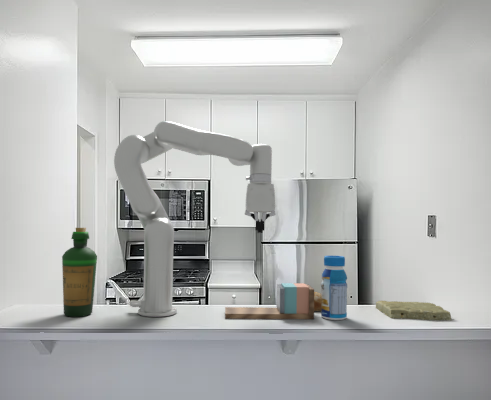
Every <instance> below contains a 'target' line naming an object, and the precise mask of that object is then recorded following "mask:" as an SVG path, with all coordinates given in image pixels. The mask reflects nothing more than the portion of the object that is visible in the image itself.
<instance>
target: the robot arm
mask: <svg viewBox="0 0 491 400" xmlns="http://www.w3.org/2000/svg"><path fill="white" fill-rule="evenodd" d="M172 149H174V150H177V151H182V152H186V153H188V154H192V155H196V156H215V157H216V156H217V157H221V158H225V159H228V161H229V162H230V164H231V165H233V166H237V167H242V166H249V176H245V181H248V182H249V183H247V186H246V194H245V195H246V196H245V211H244V215H245V216H248V217H251V218H252V219H253V220H254V221H255V231H256V233H257V234H260V233H261V234H262V233H263V232H264V231H265V222H266V221H267V219H268V218H270V217H275V216H276V214H277V213H276V192H275V186H274V185H275V184H274V183H272V165H273V164H272V163H273V162H272V160H273V159H272V158H273V157H272V153H273V149H272V147H271V145H270V144H264V143H263V144H262V143H257V144H253V145H251V144H250V143H249V142H248V141H247V140H243V139H241V138H238V137H236V136H235V137H234V136H231V135H227V134H224V133H217V132H211V131H206V130H201V129H197V128H193V127H190V126H187V125H183V124H180V123H176V122H173V121H167V120H163V121H160V122H158V123H157V124H156V125H155V127H154V130H153V131H152V132H150V133H149V134H146V135H144V136H141V135H137V134H131V135H128V136H126V137H124V138H123V139H122V140H121V141H120V143H119V144H118V146H117V147H116V149H115V153H114V158H113V164H114V165H113V166H114V170H115V173H116V176H117V178H118V181H119V183H120V185H121V187H122V189H123V192H124V194H125V195H126V198H127V200H128V202H129V204H130V207H131V209H132V212H133V213H134V214H135V215H136V216H137V218H138V219H139V220H138V221H139V222H140V224H141V225H142V228H143V230H144V233H143V236H144V237H143V244H144V245H143V246H144V248H143V251H144V253H143V255H144V257H143V294H142V295H143V297H142V299H139V300H130V301H129V306H130V307H131V308H138V310H137V314H138V315H140V316H142V317H150V318H153V317H154V318H155V317H156V318H161V317H168V316H172V315H173V316H174V315H175V314H177V312H178V311H177V308H176V307H174V306H173V287H174V286H173V283H174V280H173V279H174V274H173V273H174V241H175V228H174V225H173V224H172V223H173V222H171V219H170V217H169V215H168V214H167V211H166V210H165V207H164V206H163V204H162V201H161V199H160V198H159V196H158V195H157V193H156V192H155V191H154V189H153V188H152V185H151V184H150V182H149V180H148V177H147V175H146V174H145V171H144V169H143V165H142V164H145V163H147V162H149V161H150V160H153V159H155V158H156V157H159V156H161V155H163V154H164V153H166V152H169V151H170V150H172ZM259 213H261V219H259V218H260V217H259Z"/></svg>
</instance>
